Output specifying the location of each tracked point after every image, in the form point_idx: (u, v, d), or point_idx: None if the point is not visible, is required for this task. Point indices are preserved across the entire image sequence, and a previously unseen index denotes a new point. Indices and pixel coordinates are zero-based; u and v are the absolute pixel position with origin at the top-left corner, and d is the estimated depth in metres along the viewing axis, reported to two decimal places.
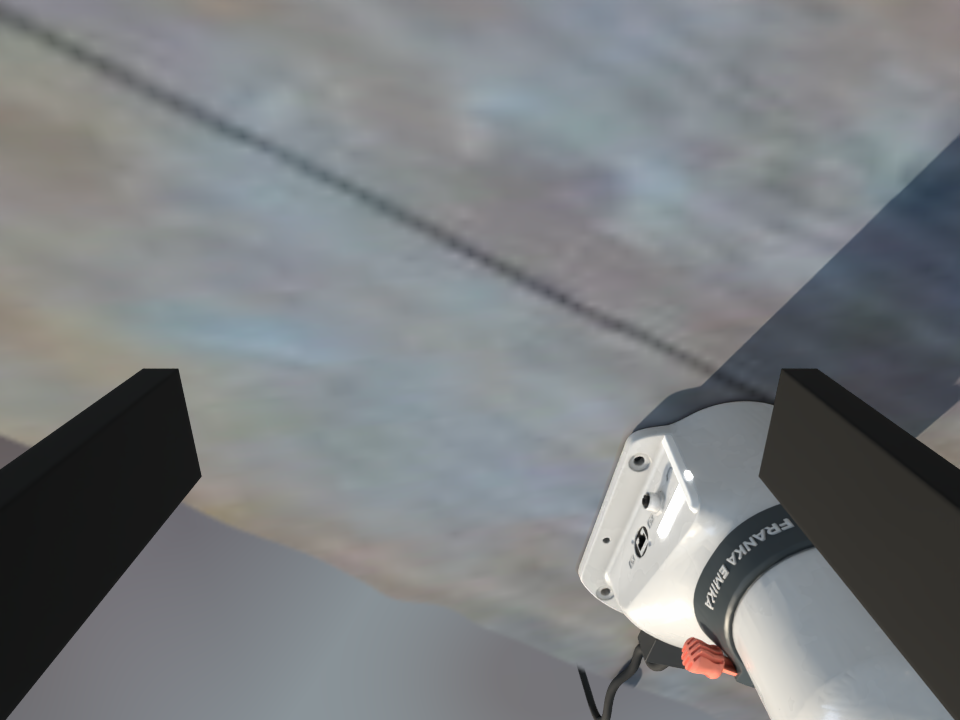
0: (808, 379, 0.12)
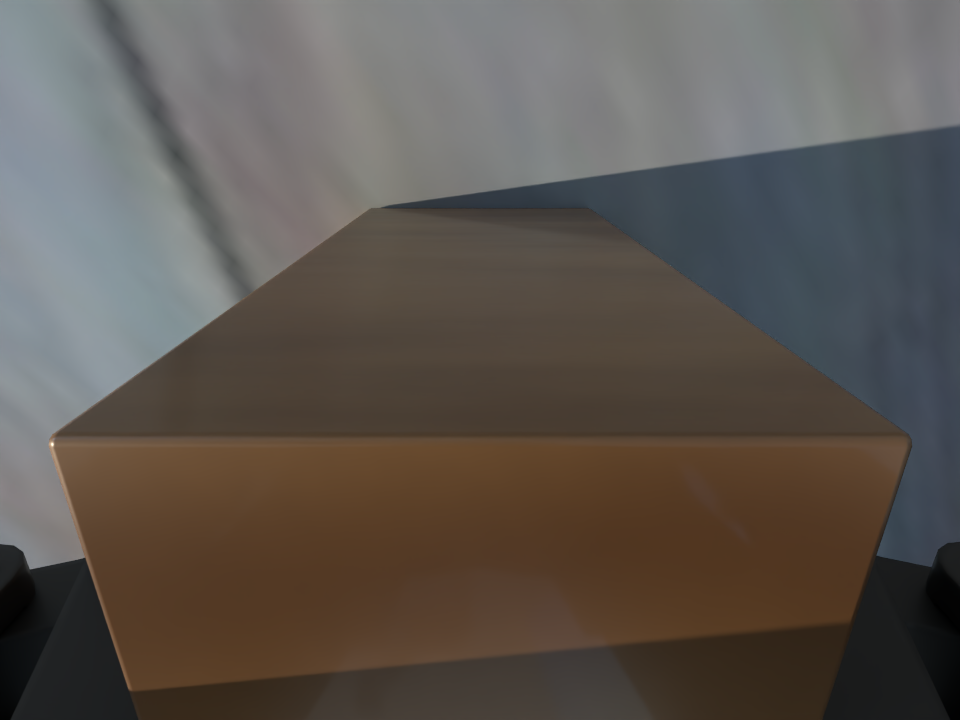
0: None
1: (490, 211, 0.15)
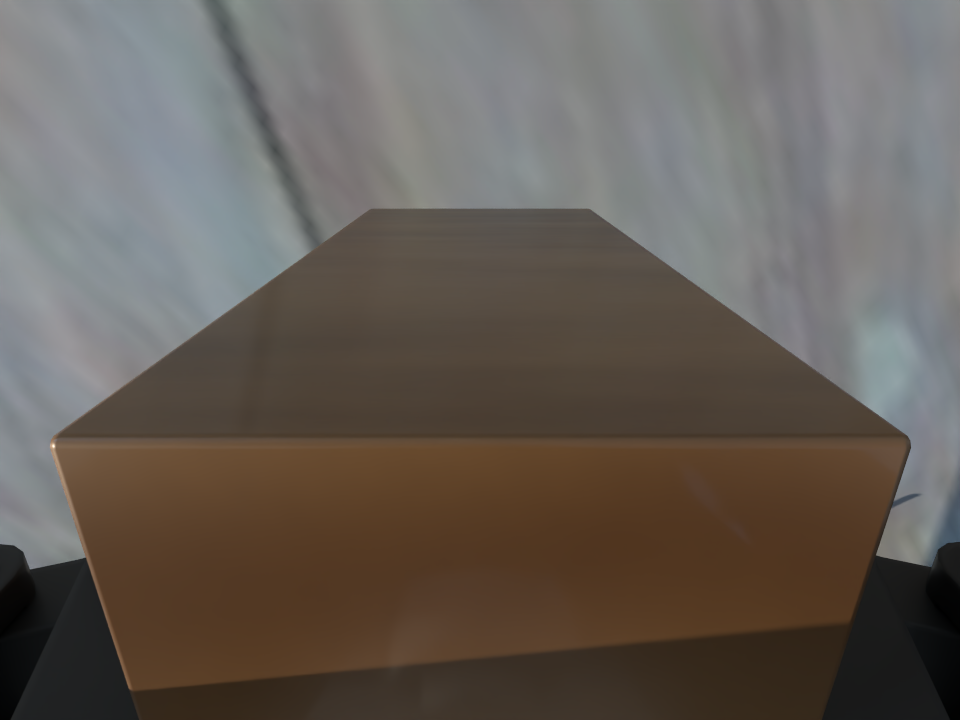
0: None
1: (490, 212, 0.15)
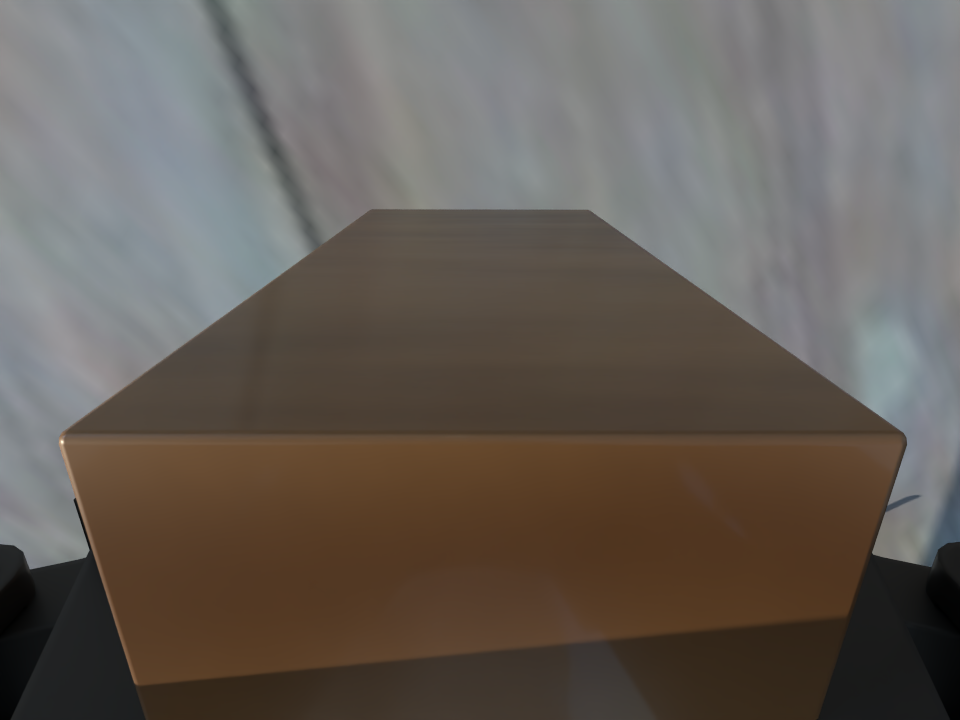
0: None
1: (490, 212, 0.15)
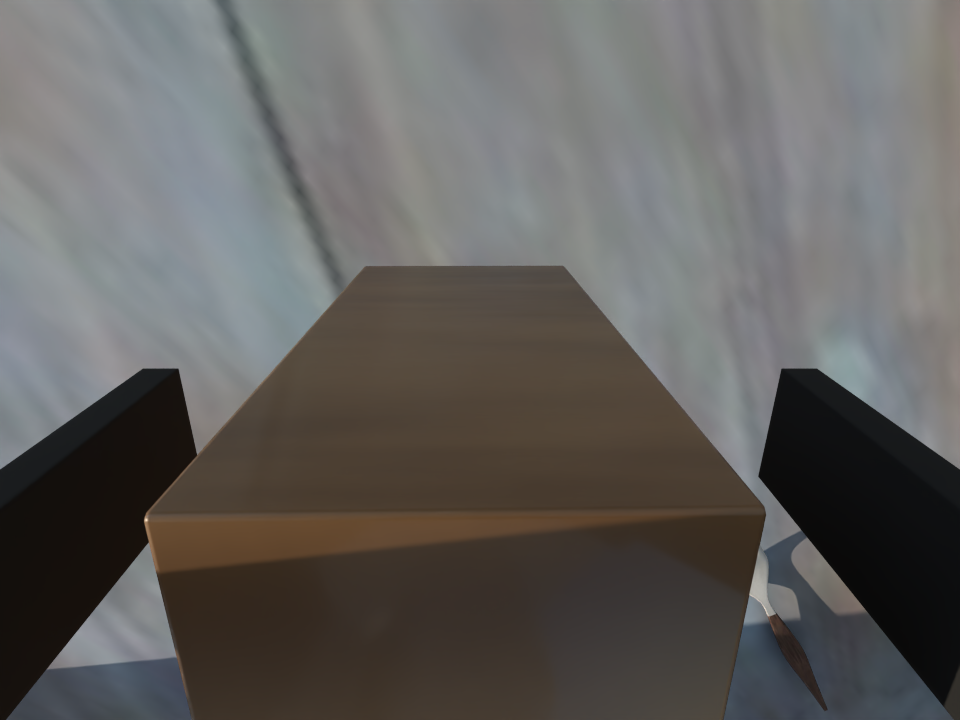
0: (808, 379, 0.12)
1: (474, 270, 0.16)
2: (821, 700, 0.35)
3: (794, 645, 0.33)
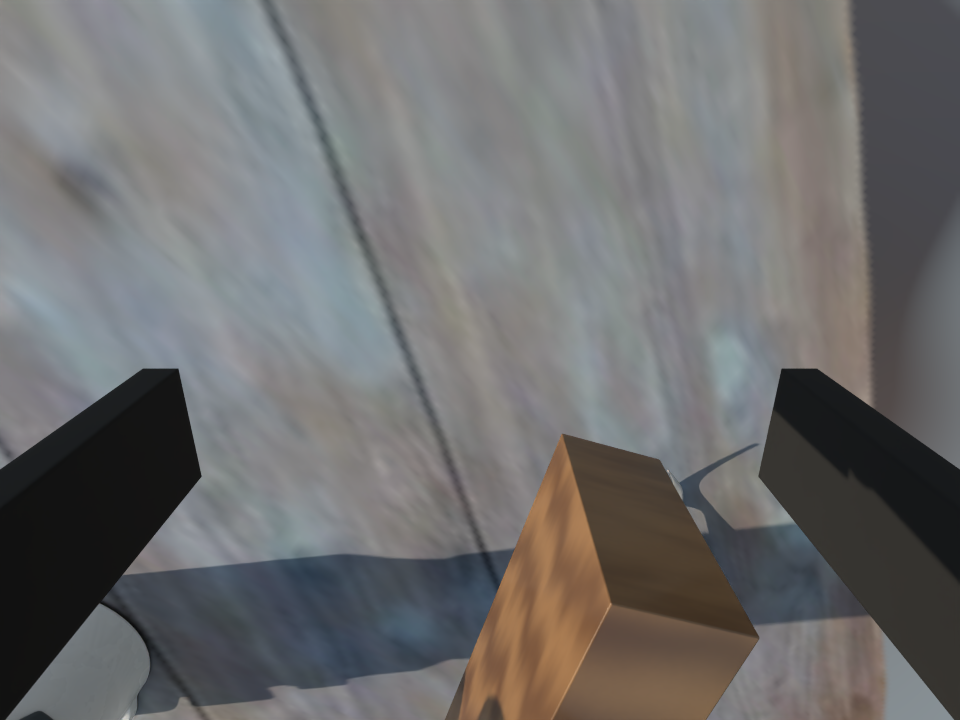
0: (808, 379, 0.12)
1: (618, 454, 0.32)
2: None
3: None
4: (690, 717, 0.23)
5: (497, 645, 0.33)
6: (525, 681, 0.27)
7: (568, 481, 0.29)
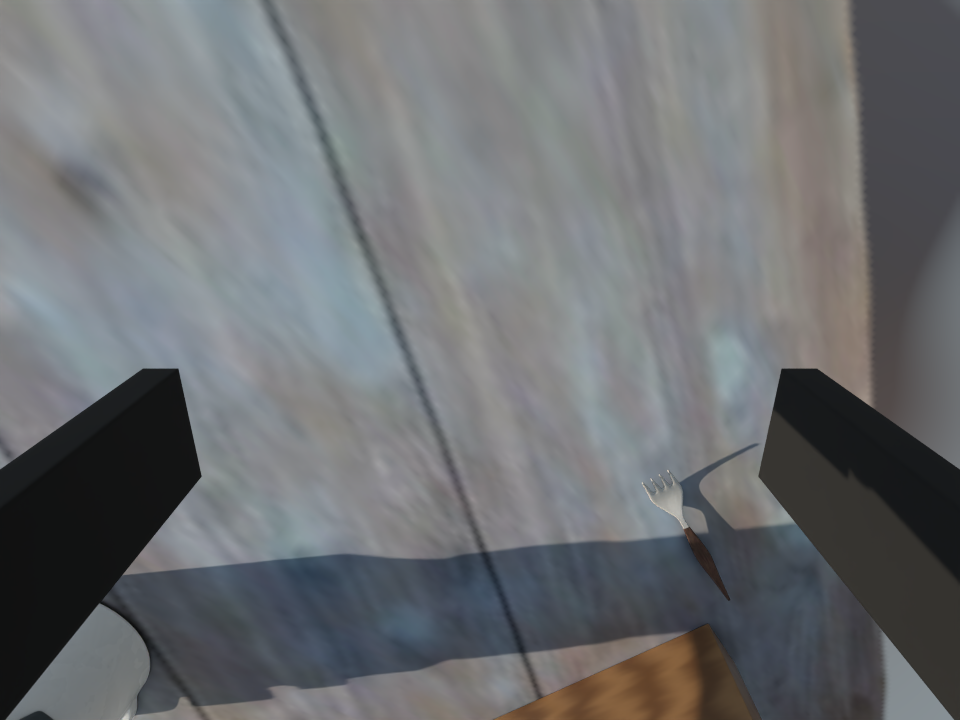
0: (808, 379, 0.12)
1: (726, 652, 0.51)
2: (725, 592, 0.49)
3: (702, 550, 0.47)
4: None
5: (594, 715, 0.50)
6: None
7: (718, 663, 0.48)
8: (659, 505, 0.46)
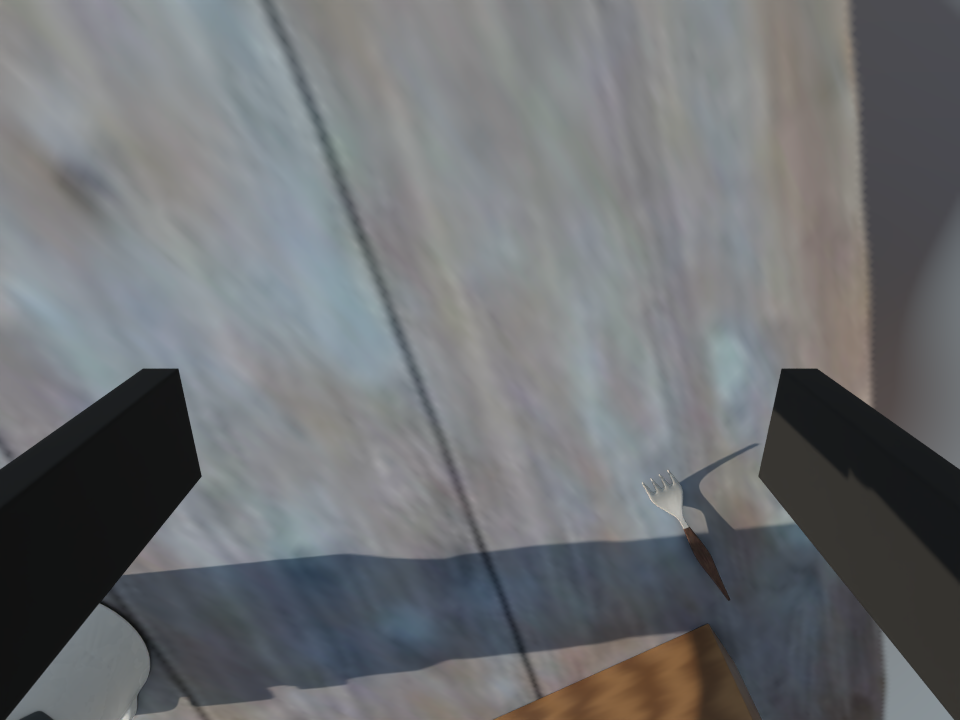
0: (808, 379, 0.12)
1: (726, 652, 0.51)
2: (725, 592, 0.49)
3: (702, 550, 0.47)
4: None
5: (594, 715, 0.50)
6: None
7: (718, 663, 0.48)
8: (659, 505, 0.46)
